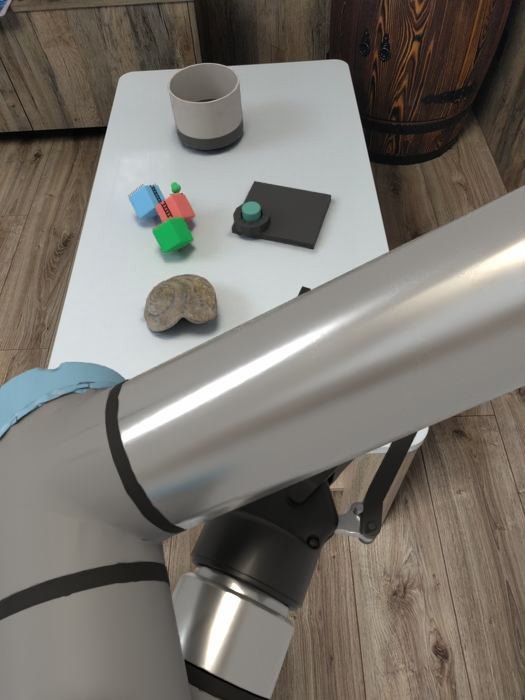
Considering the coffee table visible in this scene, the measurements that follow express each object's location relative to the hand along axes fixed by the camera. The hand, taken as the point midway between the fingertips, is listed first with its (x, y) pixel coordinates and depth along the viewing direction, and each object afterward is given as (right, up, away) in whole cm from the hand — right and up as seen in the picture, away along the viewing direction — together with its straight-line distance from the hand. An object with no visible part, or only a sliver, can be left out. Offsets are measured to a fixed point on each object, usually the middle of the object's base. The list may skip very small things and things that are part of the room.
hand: (353, 311), depth 41 cm
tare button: (-9, +19, +40) cm, 45 cm away
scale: (-4, +20, +43) cm, 48 cm away
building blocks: (-24, +17, +43) cm, 52 cm away
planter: (-18, +39, +56) cm, 71 cm away
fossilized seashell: (-19, +2, +33) cm, 38 cm away
